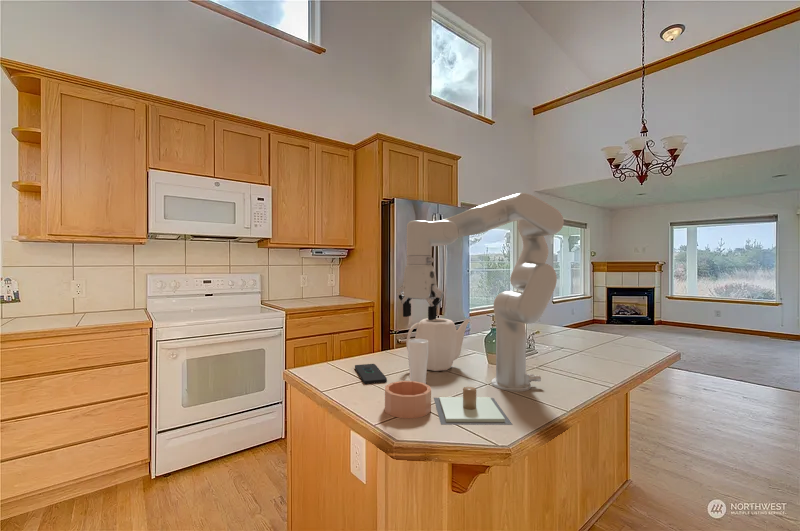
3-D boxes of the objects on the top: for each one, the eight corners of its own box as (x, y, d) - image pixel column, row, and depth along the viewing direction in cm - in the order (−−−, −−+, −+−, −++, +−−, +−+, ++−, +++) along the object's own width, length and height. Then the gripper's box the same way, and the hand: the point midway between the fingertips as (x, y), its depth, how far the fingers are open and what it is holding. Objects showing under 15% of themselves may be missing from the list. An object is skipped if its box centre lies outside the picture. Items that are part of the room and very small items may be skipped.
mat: (493, 399, 108) (493, 397, 108) (512, 426, 90) (512, 424, 90) (433, 399, 108) (433, 397, 108) (440, 426, 90) (440, 424, 90)
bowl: (428, 401, 106) (428, 380, 106) (432, 419, 93) (432, 396, 93) (385, 401, 106) (385, 380, 106) (384, 419, 93) (384, 396, 93)
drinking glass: (426, 389, 116) (427, 343, 116) (406, 388, 117) (406, 342, 117) (429, 383, 122) (429, 339, 122) (409, 381, 124) (410, 338, 124)
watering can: (479, 370, 137) (479, 321, 137) (412, 375, 130) (412, 323, 130) (462, 360, 152) (462, 315, 152) (401, 364, 145) (401, 317, 145)
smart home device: (374, 363, 142) (387, 378, 123) (374, 367, 142) (387, 383, 123) (354, 364, 140) (364, 380, 121) (354, 369, 140) (364, 385, 121)
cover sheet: (489, 399, 106) (489, 380, 106) (504, 421, 91) (505, 399, 91) (439, 399, 106) (439, 380, 106) (446, 421, 91) (446, 399, 91)
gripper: (450, 261, 106) (450, 319, 106) (405, 261, 117) (405, 314, 117) (435, 261, 100) (435, 322, 100) (389, 261, 112) (390, 316, 112)
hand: (419, 317), depth 109 cm, fingers open, 9 cm apart
